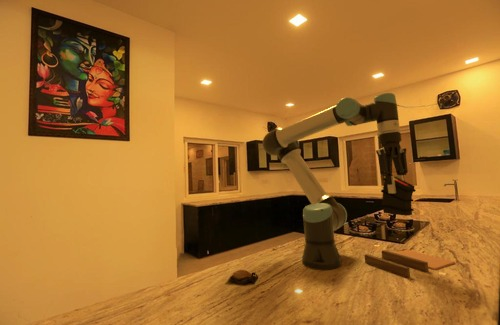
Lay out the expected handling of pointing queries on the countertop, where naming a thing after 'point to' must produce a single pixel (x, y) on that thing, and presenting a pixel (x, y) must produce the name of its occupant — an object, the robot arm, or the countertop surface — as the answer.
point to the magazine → (398, 198)
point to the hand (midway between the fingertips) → (396, 192)
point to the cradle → (394, 266)
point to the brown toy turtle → (242, 278)
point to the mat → (427, 259)
